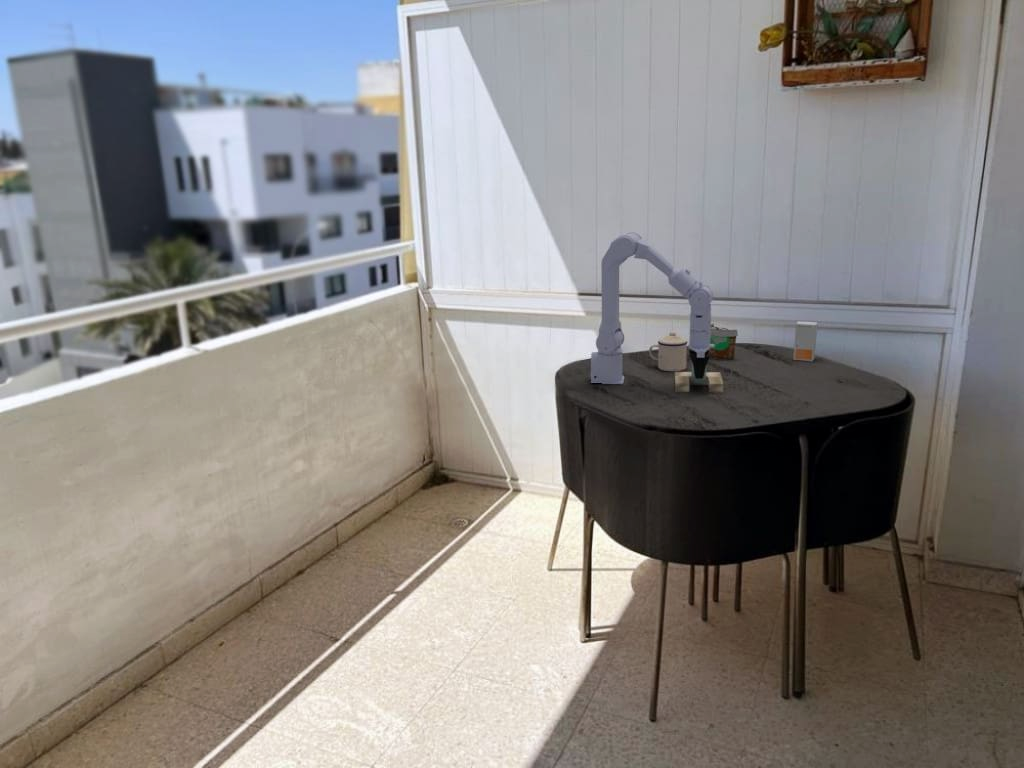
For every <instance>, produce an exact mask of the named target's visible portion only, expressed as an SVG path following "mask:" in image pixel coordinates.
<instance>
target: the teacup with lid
mask: <svg viewBox="0 0 1024 768" xmlns="http://www.w3.org/2000/svg"><path fill="white" fill-rule="evenodd" d="M688 344H689V342H688V340H687V339H686V338H684V337H682V336H680V335H678V334H677V332H676V331H670V332H669V334H668V335H665V336H664V337H660V338H659V339H658V341H657V343H655V344H652V345H650V347H648V348H649V349H648V354H649V356H650V357H651V359H653V360H655V361H658V362H657V367H658V369H659V370H661V371H664V372H665V371H666V372H682V371H684V370H686V368H687V347H688ZM653 348H658V355H657V356H655V355H654V354H653V352H652V351H653Z"/></svg>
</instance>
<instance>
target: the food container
mask: <svg viewBox="0 0 1024 768" xmlns="http://www.w3.org/2000/svg"><path fill="white" fill-rule="evenodd" d="M738 335H739V334H738V329H728V328H726V327H717V326H715V323H711V335H710V344H714V348H710V349H709V353H708V355H710V358H711V357H712V358H711V359H714V358H716V359H715V360H722V359H727V360H734V358H735V351H736V343H737V337H738Z"/></svg>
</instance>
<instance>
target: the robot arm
mask: <svg viewBox="0 0 1024 768" xmlns="http://www.w3.org/2000/svg"><path fill="white" fill-rule="evenodd" d="M632 256H634V257H633V258H634V259H639V260H640V259H641V260H646V261H647V262H648V263H650V264H651V265H652V266H654V267H655V268H657V270H659V271H660V272H662V273H663V274H664V275H665V276H667V279H668V284H669V285H670V286H671V287H672V288H673V289H675V290H676V291H677V292H678V293H679V294H680V295H682V296H683V297H684V298H685V299H688V304H689V305H690V313H689V342H688V349H689V350H688V352H689V358H690V360H691V364H692V363H693V367H694V375H695V378H696V379H703V377H704V373H705V368H706V369H707V365H708V363H709V360H711V357H710V355H709V349H710V348H714V344H710V335H711V324H712V305H711V303H712V301H713V298H714V293H713V291H712V289H711V288H710V286H709V285H707V284H704V282H703V281H701V280H700V281H699V280H698V279H697V278H695V276H693V275H692V274H691V270H690V269H689V268H687V269H685V268H684V267H676V266H675V265H674V264H673V263H672V262H670V261H669V259H667V258H666V257H665V256H664V255H663V254H662V253H661V252H660V251H659V250H658V249H657V248H656V247H655V246H654V245H653V244H652V243H650V242H649V241H648V240H647V239H646V238H642V236H641V235H640V234H638V233H637V232H633V231H632V232H627V233H626V234H622V235H620V236H618V237H617V238H616V239H614V240H613V241H611V243H610V245H609V247H608V249H607V251H605V254H604V256H602V259H601V322H600V325H599V328H598V335H597V338H596V340H595V347H596V349H597V351H595V352H594V351H593V352H591V354H590V355H591V356H590V384H591V383H602V384H601V385H624V381H625V376H624V375H623V349H622V347H621V346H622V345H623V344H624V341H625V333H624V332H623V330H622V323H621V321H620V266H621V265H623V263H625V262H626V261H627V260H628V259H629V258H631V257H632Z"/></svg>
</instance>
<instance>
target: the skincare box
mask: <svg viewBox="0 0 1024 768" xmlns="http://www.w3.org/2000/svg"><path fill="white" fill-rule="evenodd" d="M818 324H819V323H818V322H814V321H799V320H798V321H797V322H796V324H795V335H794V336H795V337H794V346H793V347H794V348H793V360H794V361H805V362H813V361H814V360H815V357H816V348H817V347H816V346H817V345H816V344H817V333H818Z"/></svg>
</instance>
